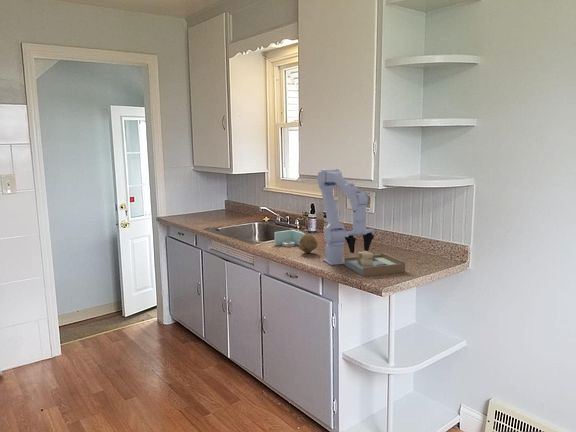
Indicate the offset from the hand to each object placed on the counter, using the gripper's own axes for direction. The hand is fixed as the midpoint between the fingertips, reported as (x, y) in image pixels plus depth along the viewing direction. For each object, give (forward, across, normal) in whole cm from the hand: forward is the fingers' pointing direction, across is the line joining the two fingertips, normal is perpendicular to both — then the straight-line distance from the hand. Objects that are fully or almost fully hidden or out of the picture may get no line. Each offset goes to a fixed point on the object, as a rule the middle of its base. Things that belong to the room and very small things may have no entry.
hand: (359, 251), depth 203 cm
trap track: (+9, +10, +2) cm, 13 cm away
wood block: (+7, +5, +3) cm, 9 cm away
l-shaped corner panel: (+8, -2, +61) cm, 61 cm away
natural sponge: (+8, -2, +41) cm, 42 cm away
